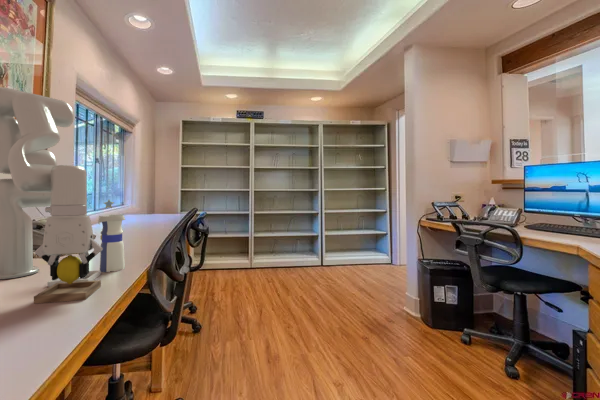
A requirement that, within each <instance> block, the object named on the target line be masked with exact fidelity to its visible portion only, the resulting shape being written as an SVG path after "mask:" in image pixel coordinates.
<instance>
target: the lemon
mask: <svg viewBox="0 0 600 400" xmlns="http://www.w3.org/2000/svg"><path fill="white" fill-rule="evenodd" d="M80 264H81V259H80V257H78V256H75V255H73V254H69V255H66V257H63V258H62V259H60V260H59V264H58V267H57V276H58V278H59V279H60V281H63V282H67V283H68V284H72V283H73V282H74V281H75V280H77V279H80Z"/></svg>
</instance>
